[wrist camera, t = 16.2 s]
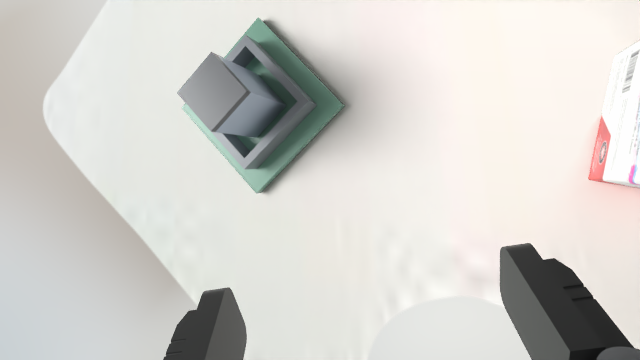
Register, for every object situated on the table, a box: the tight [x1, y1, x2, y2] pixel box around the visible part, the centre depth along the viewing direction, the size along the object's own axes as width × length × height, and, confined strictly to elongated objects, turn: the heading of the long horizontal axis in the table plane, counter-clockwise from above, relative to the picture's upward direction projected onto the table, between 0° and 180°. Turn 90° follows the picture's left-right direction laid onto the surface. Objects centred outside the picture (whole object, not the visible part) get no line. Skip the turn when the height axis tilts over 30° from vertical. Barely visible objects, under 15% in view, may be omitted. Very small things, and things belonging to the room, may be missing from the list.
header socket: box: [182, 18, 344, 193], centre depth 33 cm, size 10×10×3 cm
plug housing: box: [177, 52, 287, 138], centre depth 30 cm, size 4×4×7 cm
